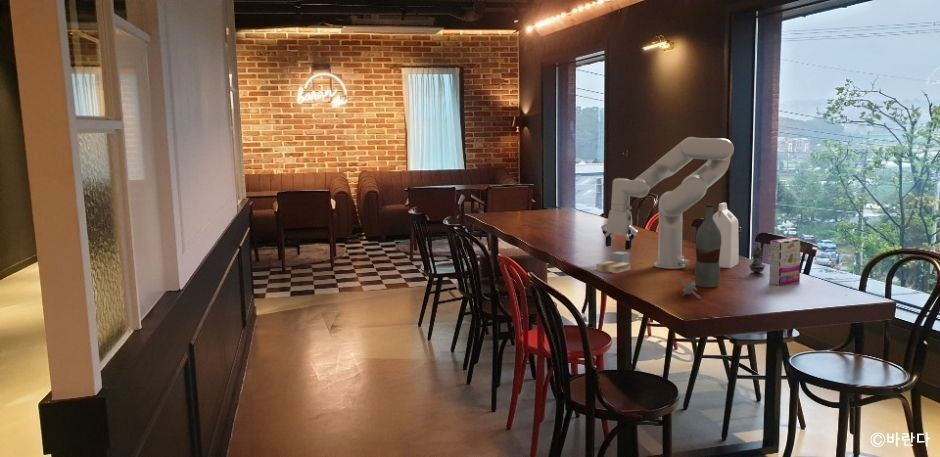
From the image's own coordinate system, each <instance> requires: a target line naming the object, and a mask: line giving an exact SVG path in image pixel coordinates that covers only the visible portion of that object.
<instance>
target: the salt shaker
mask: <svg viewBox="0 0 940 457" xmlns="http://www.w3.org/2000/svg"><path fill="white" fill-rule="evenodd" d="M752 257H753V258H752V263H751V264H748V265H749V269H750V271H751V272H750V273H749V276H754V277H762V276H764V275H765V274H764V273H763V271H764V269H765V267H766V265H764V264H762V263H763V262H762V257H763V256H762V247H761V246H759V244H757V246H755V247H754V248H753V255H752Z"/></svg>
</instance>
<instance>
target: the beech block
mask: <svg viewBox="0 0 940 457" xmlns="http://www.w3.org/2000/svg"><path fill="white" fill-rule="evenodd" d="M595 270H596V271H600V272H605V273H611V272H612V273H613V274H619V273H622V272H623V273H624V272H626V271H630V270H631V263H630V262H629V263H623V262H616V261H611V260H608V261H602V262H598V263H596V264H595Z"/></svg>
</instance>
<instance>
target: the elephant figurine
mask: <svg viewBox="0 0 940 457" xmlns="http://www.w3.org/2000/svg"><path fill="white" fill-rule="evenodd" d="M677 281H678V283H679V284H682V286H684V287H683V288H682V292H683V294H682V297H684V295H692V294H693V295H694V296H695V297H696V298H697V299H698V300H701V299H702V297H701V294H700V295H699V294H697V292H695V291H698V289H697V288H696V287H695V286H697V285H696V283H695V280H694V281H692V282H690V281H686V283H687V284H688V285H687V284H686V283H684V282H683V278H681V279H680V278H678V279H677ZM694 290H695V291H694Z"/></svg>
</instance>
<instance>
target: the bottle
mask: <svg viewBox="0 0 940 457" xmlns="http://www.w3.org/2000/svg"><path fill="white" fill-rule="evenodd" d="M713 215H714V204H712V203H706V204H705V218H704V220H703V221H702V223H701V224H700V225H699V227H698V228H697V231H696V233H695V239H694V240H695V256H696V258H695V259H696V262H695V265H694V266H695V268H694V275H693V276H694V283H695V284H696V285H695V286H698V287H703V288H716V287H719V285H720V281H721V280H720V279H721V267H720V265H719V258H720V248H721V242H722V240H721V233H720V230H719V228H718V227H717V225H716V223H715V222H714V220H713Z"/></svg>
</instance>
